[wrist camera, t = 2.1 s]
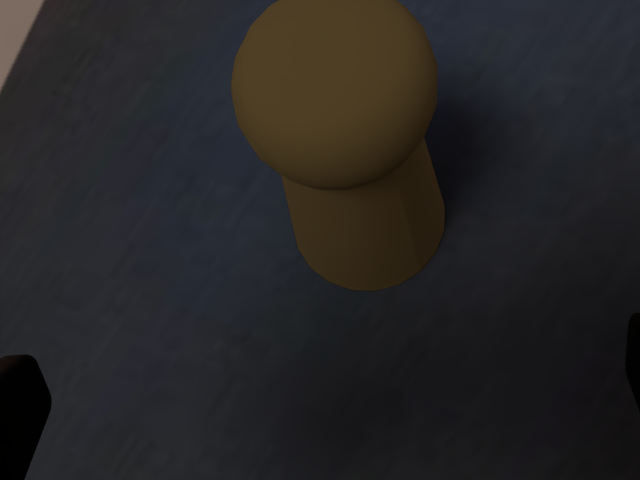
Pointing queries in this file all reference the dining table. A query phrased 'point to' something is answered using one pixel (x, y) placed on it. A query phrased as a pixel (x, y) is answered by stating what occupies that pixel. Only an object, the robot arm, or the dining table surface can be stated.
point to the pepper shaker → (346, 133)
